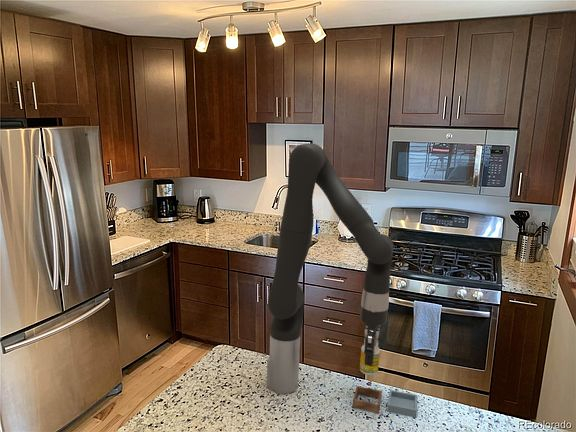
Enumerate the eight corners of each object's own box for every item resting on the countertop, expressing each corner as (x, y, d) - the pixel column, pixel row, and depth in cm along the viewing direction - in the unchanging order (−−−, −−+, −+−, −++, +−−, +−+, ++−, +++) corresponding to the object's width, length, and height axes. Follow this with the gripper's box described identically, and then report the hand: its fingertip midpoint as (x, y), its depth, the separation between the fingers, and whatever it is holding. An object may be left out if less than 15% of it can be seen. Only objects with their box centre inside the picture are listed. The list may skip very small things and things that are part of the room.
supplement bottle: (368, 363, 131) (371, 334, 129) (381, 372, 127) (385, 342, 125) (355, 368, 128) (358, 338, 126) (368, 377, 124) (371, 346, 122)
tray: (387, 411, 126) (387, 404, 125) (389, 396, 133) (389, 389, 133) (416, 417, 124) (416, 410, 123) (416, 401, 131) (417, 395, 131)
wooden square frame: (352, 407, 127) (352, 399, 127) (356, 393, 134) (356, 385, 134) (378, 413, 125) (379, 405, 124) (381, 398, 132) (381, 390, 132)
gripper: (364, 294, 131) (360, 346, 135) (357, 312, 118) (353, 369, 121) (390, 298, 129) (384, 350, 133) (386, 317, 116) (380, 375, 119)
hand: (369, 359), depth 127 cm, fingers closed on supplement bottle, 5 cm apart
